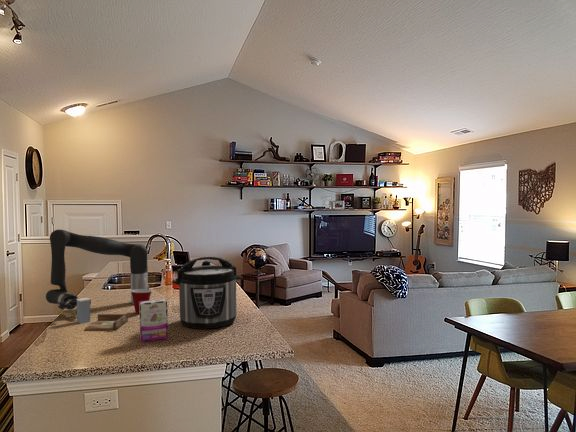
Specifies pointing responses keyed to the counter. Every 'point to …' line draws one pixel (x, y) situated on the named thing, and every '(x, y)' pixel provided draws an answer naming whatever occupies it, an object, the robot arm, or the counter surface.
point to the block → (83, 310)
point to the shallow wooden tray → (108, 322)
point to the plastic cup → (140, 297)
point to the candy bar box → (153, 320)
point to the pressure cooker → (207, 293)
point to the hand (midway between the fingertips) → (80, 305)
